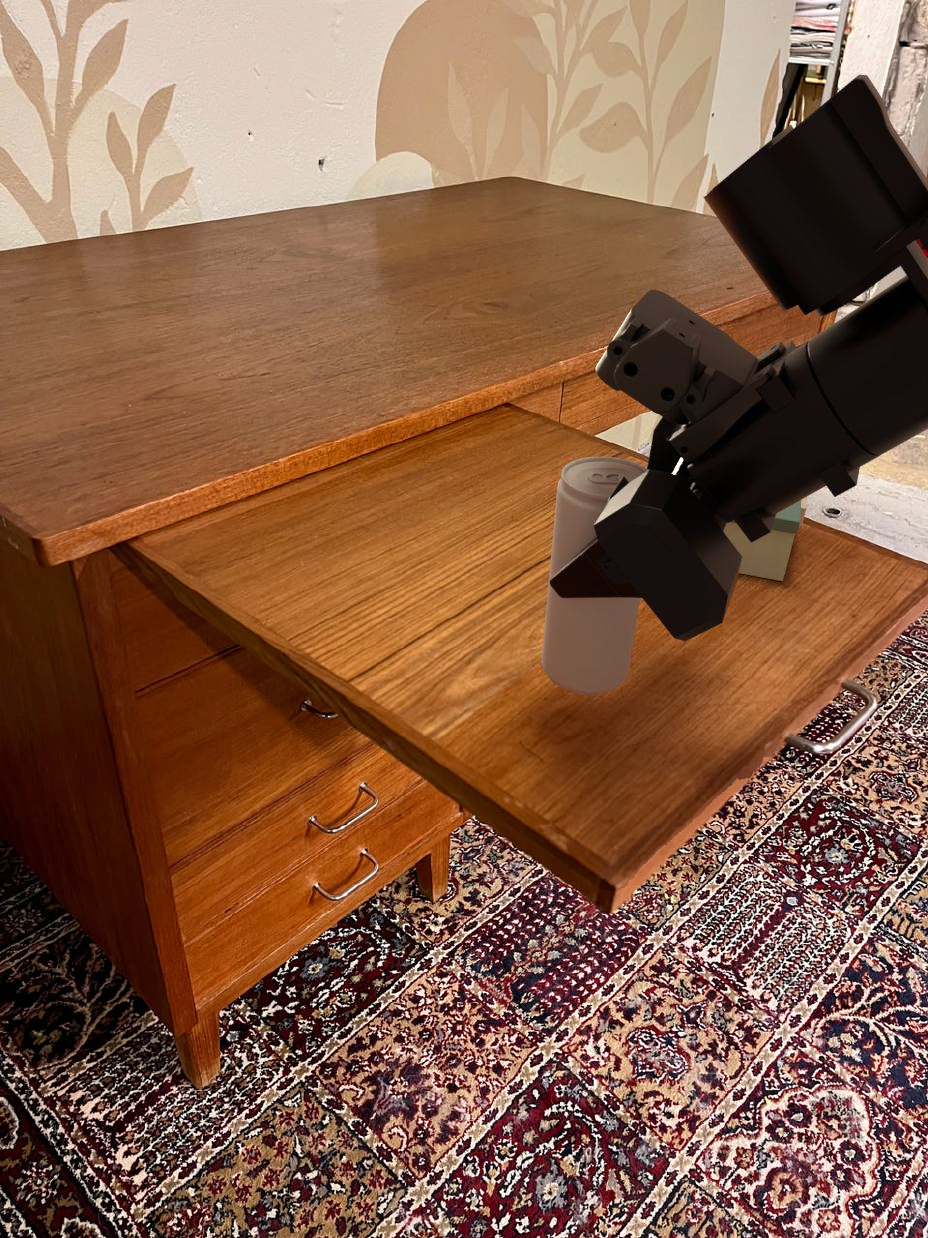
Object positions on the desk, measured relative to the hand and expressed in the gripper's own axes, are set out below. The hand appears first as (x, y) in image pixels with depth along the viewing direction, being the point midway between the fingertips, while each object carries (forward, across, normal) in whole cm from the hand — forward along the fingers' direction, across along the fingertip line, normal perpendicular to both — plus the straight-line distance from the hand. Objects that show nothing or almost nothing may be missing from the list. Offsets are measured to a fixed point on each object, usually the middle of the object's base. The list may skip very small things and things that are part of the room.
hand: (570, 565), depth 50 cm
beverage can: (+4, 0, +6) cm, 7 cm away
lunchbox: (+4, -27, +11) cm, 29 cm away
